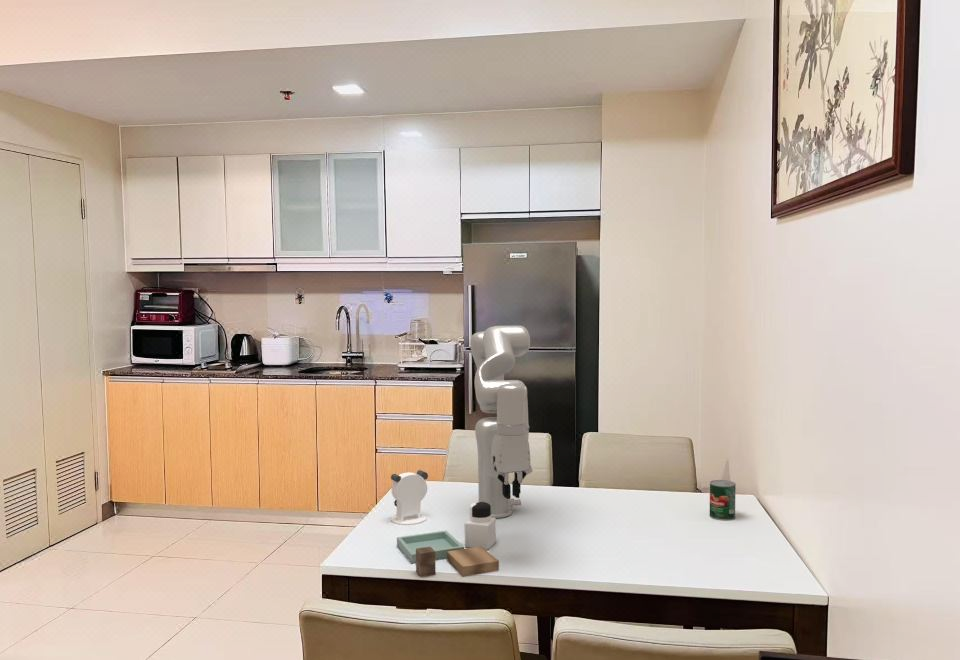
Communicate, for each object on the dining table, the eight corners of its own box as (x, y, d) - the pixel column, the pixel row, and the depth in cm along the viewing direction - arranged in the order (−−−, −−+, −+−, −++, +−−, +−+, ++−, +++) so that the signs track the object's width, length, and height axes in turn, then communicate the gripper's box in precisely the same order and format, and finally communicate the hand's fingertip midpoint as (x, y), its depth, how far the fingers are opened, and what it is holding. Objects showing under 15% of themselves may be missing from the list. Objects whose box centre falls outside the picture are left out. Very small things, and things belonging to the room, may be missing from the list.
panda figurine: (417, 511, 239) (417, 466, 238) (434, 520, 229) (434, 473, 229) (385, 517, 232) (384, 472, 232) (401, 527, 223) (400, 479, 222)
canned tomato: (708, 519, 228) (708, 484, 228) (710, 512, 236) (710, 478, 235) (734, 521, 225) (735, 487, 225) (735, 514, 233) (736, 481, 232)
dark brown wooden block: (430, 569, 188) (430, 546, 188) (435, 574, 185) (435, 551, 184) (416, 571, 187) (415, 548, 187) (420, 576, 183) (420, 553, 183)
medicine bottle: (496, 541, 209) (495, 501, 208) (488, 550, 202) (488, 508, 202) (473, 539, 211) (472, 499, 211) (464, 547, 204) (464, 505, 204)
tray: (446, 538, 212) (446, 530, 212) (464, 555, 198) (464, 546, 198) (396, 545, 206) (396, 537, 206) (411, 563, 192) (411, 554, 192)
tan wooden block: (481, 556, 198) (481, 546, 198) (498, 572, 187) (498, 560, 187) (447, 562, 194) (447, 551, 194) (462, 578, 183) (462, 566, 183)
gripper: (531, 425, 200) (531, 490, 201) (478, 429, 194) (479, 497, 195) (543, 429, 193) (544, 497, 194) (489, 434, 187) (489, 504, 188)
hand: (511, 496), depth 194 cm, fingers closed
